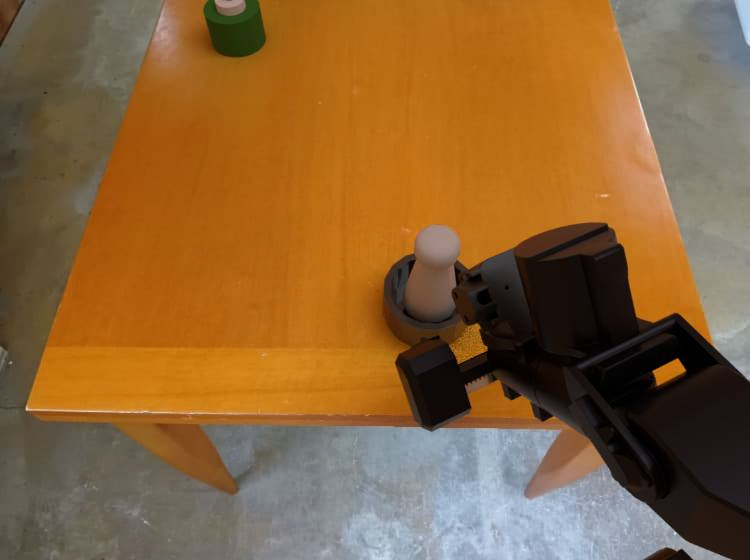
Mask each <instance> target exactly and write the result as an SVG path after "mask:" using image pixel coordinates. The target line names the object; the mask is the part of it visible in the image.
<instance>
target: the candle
mask: <svg viewBox="0 0 750 560" xmlns="http://www.w3.org/2000/svg"><path fill="white" fill-rule="evenodd" d="M261 9H262V8H261V4H260V1H259V0H207V1H206V2H205V4H204V5H203V9H202V11H203V16H204V19H205V24H206V27H207V30H208V33H209V37H210V41H211V44H212V47H213V49H214V50H215V51H216V52H217V53H218V54H220V55H222V56H225V57H229V58H243V57H248V56H250V55H254V54H255V53H257V52H258V51H260V50H261V49H262V48H263V47H264V45H265V44H266V40H267V36H266V30H265V25H264V20H263V16H262V10H261Z"/></svg>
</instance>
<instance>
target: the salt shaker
mask: <svg viewBox="0 0 750 560" xmlns="http://www.w3.org/2000/svg"><path fill="white" fill-rule="evenodd" d="M457 233H458V232H456V231H455V230H454V229H452V228H451V227H449V226H447V225H442V224H430V225H427V226H426V227H423V228H421V229H420V230H419V232H418V233H417V235H416V236H415V239H414V245H413V253H414V254H415V256H416V258H417V259H416V262H415V264H414V266H413V269H412V271H411V274H410V276H409V278H408V281H407V283H406V286H405V288H404V290H403V304H404V306H405V308H406V310H407V313H408V314H409V315H410V316H411V317H412V318H414V319H416V320H417V321H419V322H421V323H438V322H442V321H443V320H445V319H447V318H448V317H450V316H451V314H452V313H453V311H454V309H455V307H456V305H455V303H454V301H453V298H452V295H451V291H452V289H453V288H455V287H456V280H455V271H454V264H455V262H456V260H459V257H460V255H461V247H462V246H461V238H460V237H459V235H458V234H457Z"/></svg>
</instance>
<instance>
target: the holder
mask: <svg viewBox="0 0 750 560" xmlns="http://www.w3.org/2000/svg"><path fill="white" fill-rule="evenodd" d="M416 259H417V258H416V256H415V254H414V252H412V253H410V254H406V255H404V256H403V257H401V258H400V259H399V260H397V261H396V262H394V264H392V265H391V267H390V268H389V270H388V271H387V273H386V275H385V277H384V280H383V290H382V291H383V293H382V298H383V299H382V313H383V317H384V320H385V323H386V326H387V327H388V329H389V330H390V332H391V333H392V334H393V335H394V336H395V337H396V338H397V339H398V340H399V341H401V342H403V344H405V345H408V346H411V347H412V346H414V345H416V344H419V343H421V341H420V338H422V337H425V338H429V339H430V338H432V337H434V336H437V335H439V336H440V339H442V340H444V341H445V342H447V343H448V345H449V346H450V345H452V344H453V343H455V342H456V341H457V340H458V339H460V338H461V337H462V336H463V334H464V333H465V331H466V330H467V328H468V326H467V325H466V324H465V323H464V322H463V321H462V319H461V316H460V314H459V312H458V310H457V307H455V309H454V311H453V313H452V314H451V316H450V317H448V318H447V319H445V320H443V321H442V322H438V323H421V322H419V321H417V320H416V319H414V318H412V317H411V316H410V315H409V314H408V313H407V310H406V308H405V306H404V304H403V290H404V288H405V286H406V283H407V281H408V278H409V276H410V274H411V271H412V269H413V266H414V264H415V262H416ZM468 269H469V268H468V267H467V266H466V265H464V264H463V263H462V262H461V261H460V260H459V259H457V260H456V262H455V264H454V271H455V280H456V287H457V286H459V285H460V280H459V277H458V274H459V273H461V272H463V271H466V270H468Z"/></svg>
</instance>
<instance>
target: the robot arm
mask: <svg viewBox="0 0 750 560" xmlns="http://www.w3.org/2000/svg"><path fill="white" fill-rule="evenodd" d="M626 255H627V254H626V251H625V247H624V245H623V244H621V243H619V242H618V237H617V234H616V230H615V229H614V228H613V227H611V226H609V224H608V222H601V221H598V222H597V221H591V222H590V221H589V222H580V223H573V224H569V225H563V226H559V227H556V228H552V229H547V230H545V231H542V232H539V233H537V234H535V235H532V236H530V237H528V238H526V239H524V240H522V241H521V242H520V243H518V244H517V245H516V246H514V247H512V248H509V249H507V250H505V251H502V252H500V253H497V254H495V255H493V256H490V257H488V258H485V259H484V260H482V261H480V262H478V263H476V264H475V265H473V266H472V267H470V268H467V269H468V270H466V271H463V272H461V273H459V274H458V277H459V280H460V285H459V286H457V287H455V288H453V289H452V291H451V295H452V298H453V301H454V303H455V305H456V307H457V310H458V312H459V314H460V316H461V319H462V321H463V322H464V323H465V324H466V325H467V327H470V326H474V325H478V326H479V327H480V328H479V329H478V332H479V335H480V339H481V342H482V344H483V346H484V347H486V348H487V349H486V350H485V351H483V352H481V353H478V354H476V355H475V356H472V357H469V358H467V359H466V360H463V361H461V362H458V359H457V357H456V355H455V353H454V351H453V350H452V348H451V347H450V344H449V345H448V343H447V342H445V341H444V340H442V339H440V336H439V335H437V336H434V337H432V338H430V339H429V338H425V337H422V338H420V341H421V343H419V344H416V345H414V346H411V347H410V348H409V349H405V350H404V351H402V352H400V353H398V355H397V356H396V359H395V362H394V365H395V368H396V371H397V374H398V376H399V379H400V382H401V385H402V388H403V391H404V394H405V397H406V400H407V403H408V405H409V409H410V412H411V414H412V417H413V420H414V421H415V422H416V423H417V425H419V427H420V428H421V429H424V430H426V431H428V432H430V433H433V432H435V431H437V430H439V429H441V428H444V427H445V426H447V425H449V424H452V423H453V422H455V421H458V420H459V419H462V418H464V417H466V416H467V415H470V414H471V411H472V409H473V408H472V404H471V401H470V398H469V395H471V394H473V393H474V392H477V391H479V390H480V389H483V388H486V387H487V386H489V385H491V384H493V383H495V382H497V381H499V383H500V384H501V385H500V386H501V389H502V391H503V392H502V393H503V396H504V397H505V398H506V399H508V400H510V401H511V402H512V401H514V400H516V399H518V398H521V397H524V398H525V399H527V400H528V401H529V404H530V407H531V410H532V414H533V417H534V418H536V419H537V420H538V421H540V422H541V423H543V422H545V421H547V420H549V419H552V418H553V417H554V418H556V419H557V420H559V421H560V422H562V423H563V424H565V425H567V426H568V427H569V428H572V430H574V431H576V432H577V433H579V434H580V435H582V436H583V437H585V438H587V439H588V440H589V441H590V443H591V444H592V445H593V447H594V448H595V450H596V452H597V453H598V455H599V456H600V458H601V459H602V460H603V462H604V464H605V465H606V467H607V468H608V470H609V471H610V475H611V478H612V479H613V480H614V481H616V483H618V484H619V486H620V487H621V488H622V489H625V491H627V493H629V494H630V495H631V496H632V497H633V498H635V499H636V500H638V501H639V502H641V503H643V504H646V506H647V507H649V509H651V510H652V511H653V512H654V513H655V514H656V515H657V516H658V517H659V518H660V519H662V521H664V523H665V524H666V525H668V526H669V527H670V528H671V529H672V530H673V531H674V532H675V533H676V534H677V535H678V536H680V538H681V539H683V540H684V541H685V542H688V543H689V544H691V545H694V546H697V547H699V548H701V549H703V550H704V549H705V551H709V552H711V553H714V554H715V555H719V556H721V557H724V558H726V559H729V560H750V380H749V379H748V378H747V377H746V376H745V375H744V374H743V373H742V372H741V371H740V370H739V369H738V368H737V367H735V365H734V364H733V363H731V362H730V360H728V359H727V357H725V356H724V355H723V354H722V353H721V352H720V351H719V350H718V349H717V348H715V346H714V345H713V344H712V343H710V342H709V341H708V340H707V339H706V338H705V337H704V336H703V335H702V334H701V333H700V332H699V331H698V330H697V329H696V328H695V327H694V326H693V325H692V324H690V323H689V321H688V320H686V319H685V318H684V317H683V316H682V315H681V313H678V312H672V313H671V314H669V315H666V316H664V317H662V318H660V319H658V320H656V321H649V320H646V319H643V318H640V317H638V316H637V313H636V309H635V308H636V307H635V304H634V299H633V294H632V290H631V285H630V279H629V266H628V265H629V264H628V260H627V256H626ZM675 360H678V361H679V363H680V364H681V366H682V367H683V368H684V370H685V371H683V372H682V373H679V374H677V375H675V376H673V377H672V378H670V379H668V380H665V381H664V382H661V383H660V384H658V381H657V377H656V375H655V373H654V371H656V370H658V369H660V368H662V367H664V366H666V365H667V364H669V363H671V362H674V361H675ZM642 560H694V558H693V557H691V555H690V554H688V553H687V552H686V551H685V550H684V549H683V548H680V549H678V550H677V549H674V548H671V547H668V546H665V547H663V548H660V549H657V550H656V551H655V552H652V553H651V554H650V555H648V556H646V557H644V558H643V559H642Z"/></svg>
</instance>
